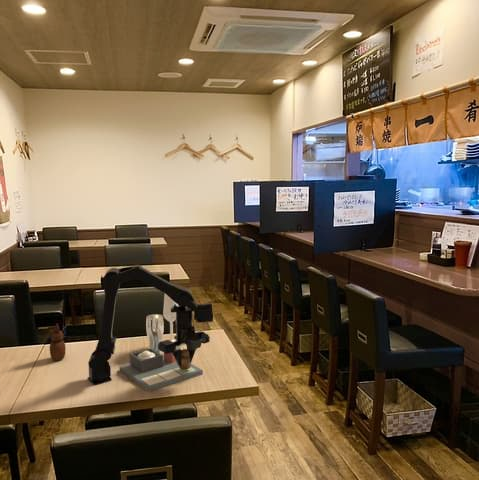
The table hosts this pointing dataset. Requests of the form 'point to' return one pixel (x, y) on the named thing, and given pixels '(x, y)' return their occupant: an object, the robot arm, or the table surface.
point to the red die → (169, 357)
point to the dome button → (146, 355)
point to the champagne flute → (169, 313)
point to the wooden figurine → (57, 344)
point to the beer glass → (154, 330)
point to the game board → (156, 371)
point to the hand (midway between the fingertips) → (184, 364)
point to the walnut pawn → (185, 359)
